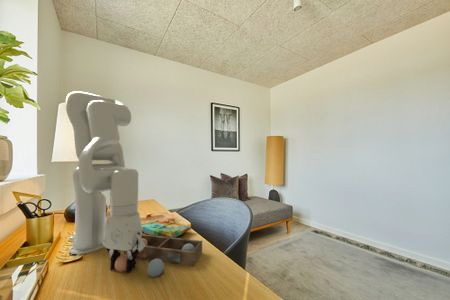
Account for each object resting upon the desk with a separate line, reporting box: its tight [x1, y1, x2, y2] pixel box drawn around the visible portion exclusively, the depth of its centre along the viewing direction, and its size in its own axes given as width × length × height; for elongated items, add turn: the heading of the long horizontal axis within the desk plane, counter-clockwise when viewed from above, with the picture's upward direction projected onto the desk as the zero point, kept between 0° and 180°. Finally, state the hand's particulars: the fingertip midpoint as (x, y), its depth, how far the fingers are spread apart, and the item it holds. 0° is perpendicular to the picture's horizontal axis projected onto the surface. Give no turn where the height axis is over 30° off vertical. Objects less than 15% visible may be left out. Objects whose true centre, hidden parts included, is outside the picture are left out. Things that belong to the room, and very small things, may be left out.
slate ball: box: [146, 259, 165, 278], centre depth 53 cm, size 5×5×5 cm
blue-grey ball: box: [182, 243, 195, 251], centre depth 61 cm, size 5×5×5 cm
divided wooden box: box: [123, 233, 203, 268], centre depth 63 cm, size 25×8×5 cm, turn 78°
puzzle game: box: [141, 217, 192, 238], centre depth 80 cm, size 12×5×20 cm
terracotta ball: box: [114, 253, 129, 273], centre depth 55 cm, size 5×5×5 cm
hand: (123, 268), depth 55 cm, fingers open, 4 cm apart
